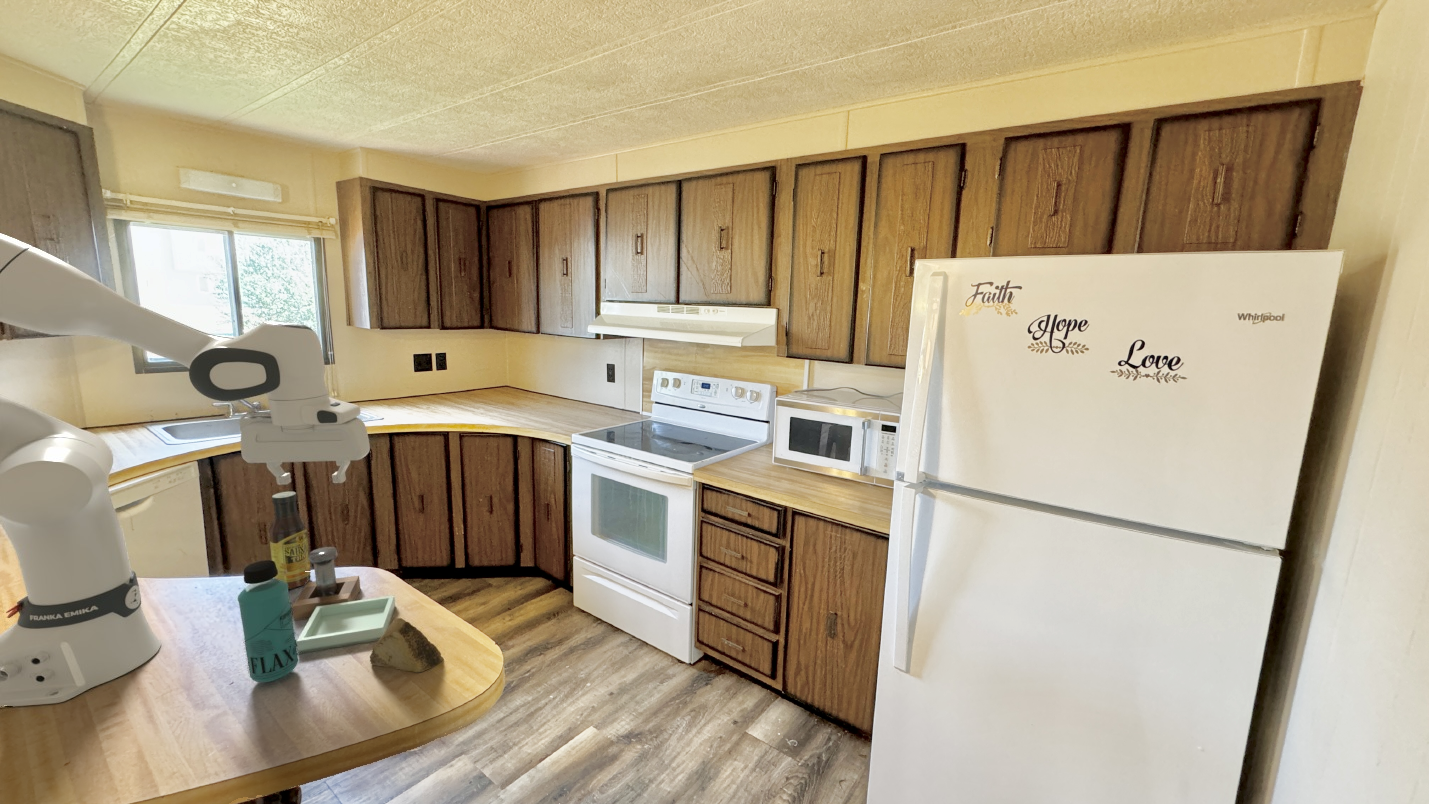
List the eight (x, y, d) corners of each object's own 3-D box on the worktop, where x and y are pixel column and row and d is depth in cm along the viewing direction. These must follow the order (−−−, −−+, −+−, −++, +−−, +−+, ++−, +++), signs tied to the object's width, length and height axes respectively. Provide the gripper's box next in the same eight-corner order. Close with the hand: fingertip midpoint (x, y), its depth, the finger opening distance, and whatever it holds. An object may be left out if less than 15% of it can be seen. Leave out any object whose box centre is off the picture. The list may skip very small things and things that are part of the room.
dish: (298, 654, 95) (296, 641, 95) (318, 618, 105) (316, 606, 105) (384, 639, 100) (383, 627, 99) (395, 606, 110) (394, 595, 109)
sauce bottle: (292, 593, 113) (279, 502, 109) (267, 589, 115) (253, 499, 110) (320, 577, 120) (309, 491, 116) (296, 573, 121) (284, 488, 117)
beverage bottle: (245, 696, 85) (225, 579, 81) (256, 670, 91) (238, 559, 87) (297, 684, 88) (280, 570, 84) (304, 659, 94) (289, 551, 90)
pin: (311, 612, 107) (304, 559, 105) (319, 599, 111) (312, 548, 109) (339, 608, 109) (332, 556, 107) (345, 595, 113) (339, 545, 111)
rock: (347, 659, 91) (375, 677, 85) (373, 606, 94) (402, 620, 89) (406, 667, 99) (436, 684, 93) (428, 618, 102) (459, 631, 97)
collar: (294, 620, 104) (292, 606, 104) (309, 595, 113) (307, 582, 112) (349, 612, 108) (347, 598, 107) (360, 588, 116) (359, 575, 115)
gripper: (225, 416, 95) (238, 491, 98) (352, 414, 98) (362, 487, 101) (249, 407, 101) (261, 478, 105) (369, 406, 104) (377, 475, 107)
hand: (312, 482), depth 103 cm, fingers open, 8 cm apart
